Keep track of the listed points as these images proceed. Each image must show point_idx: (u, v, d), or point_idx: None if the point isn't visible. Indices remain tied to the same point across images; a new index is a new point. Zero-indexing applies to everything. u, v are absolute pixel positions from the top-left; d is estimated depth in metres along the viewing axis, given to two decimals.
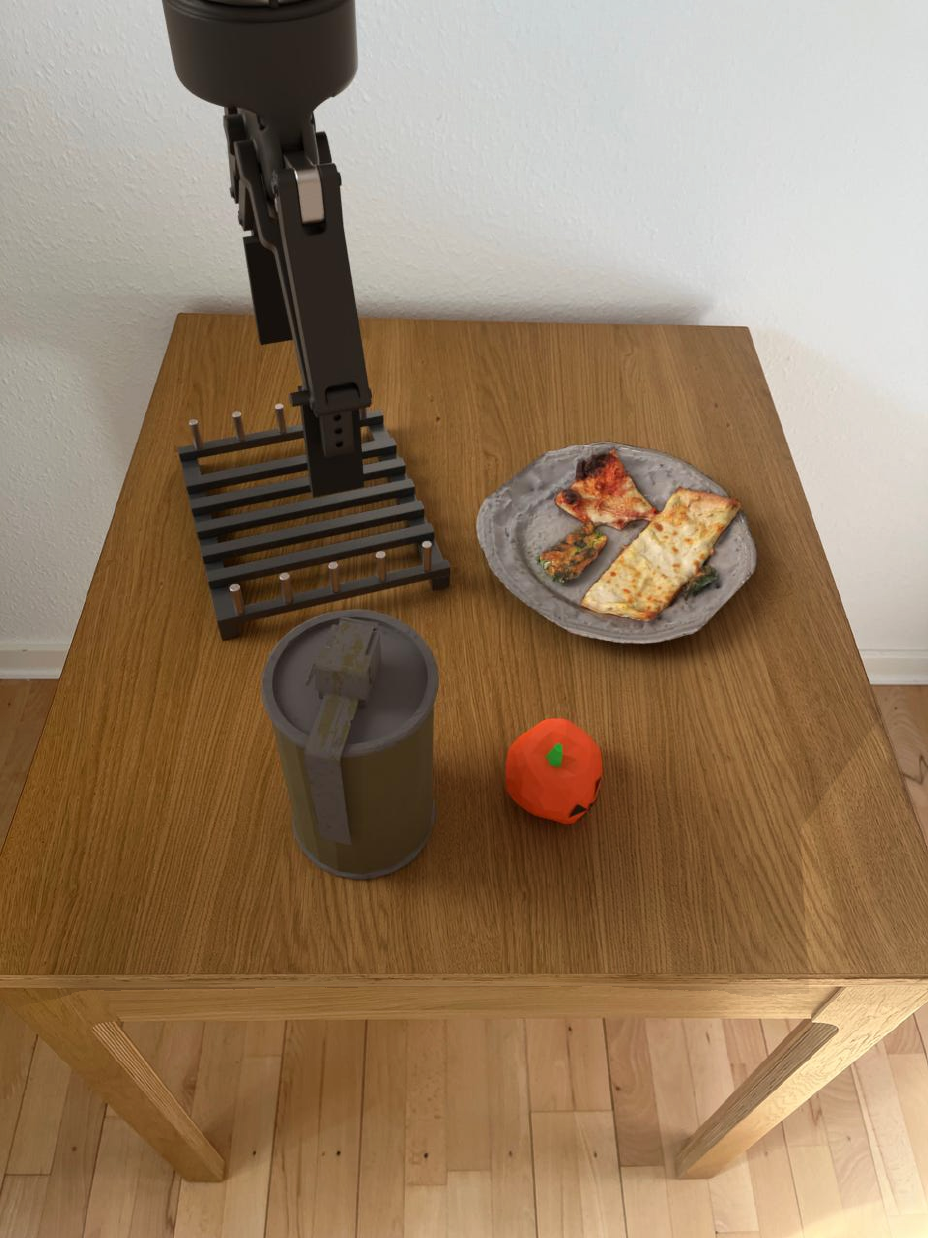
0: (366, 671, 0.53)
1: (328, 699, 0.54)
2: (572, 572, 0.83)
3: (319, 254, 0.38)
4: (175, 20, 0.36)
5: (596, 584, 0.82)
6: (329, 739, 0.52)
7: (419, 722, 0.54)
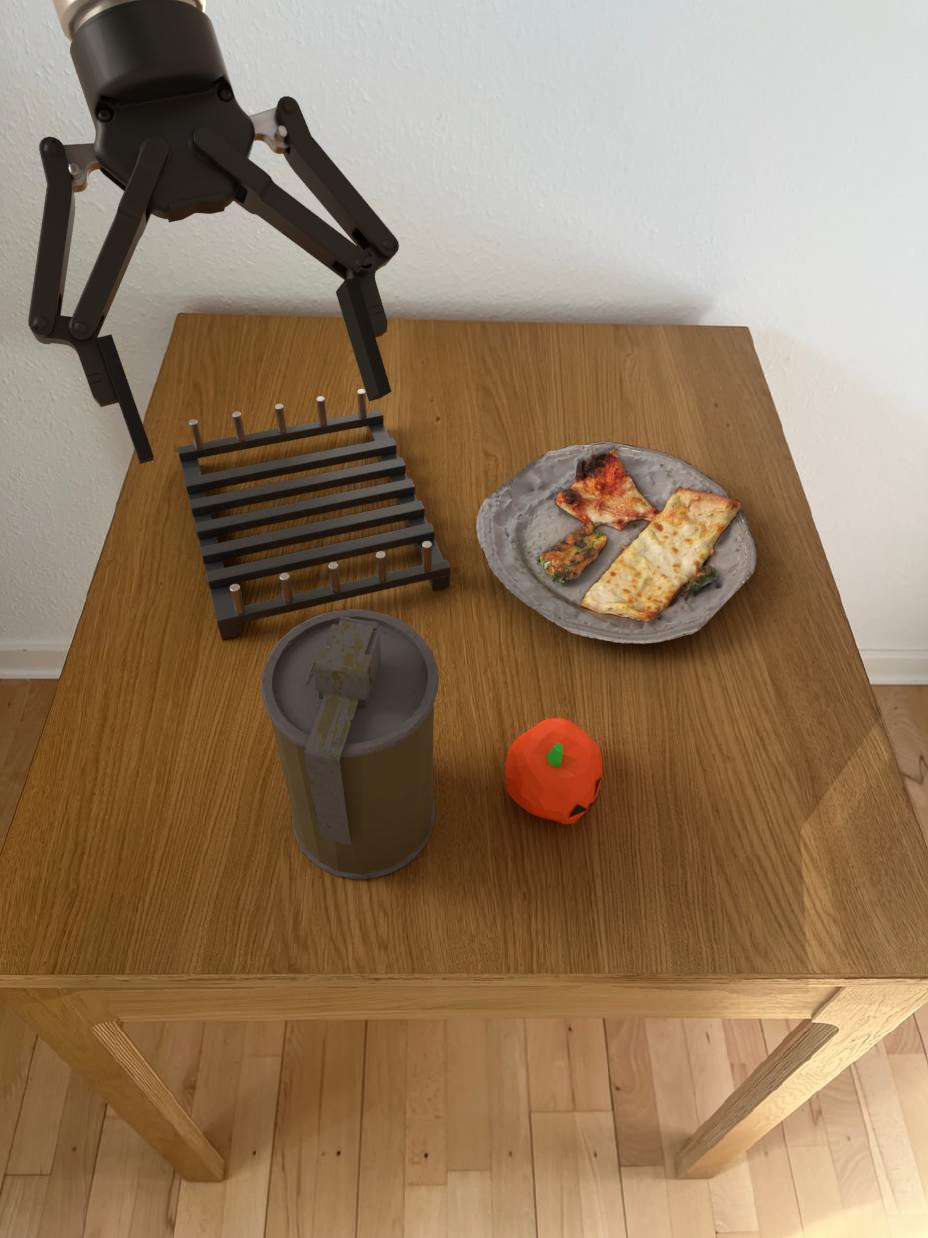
0: (366, 671, 0.53)
1: (328, 699, 0.54)
2: (572, 572, 0.83)
3: None
4: (173, 12, 0.46)
5: (596, 584, 0.82)
6: (329, 739, 0.52)
7: (419, 722, 0.54)
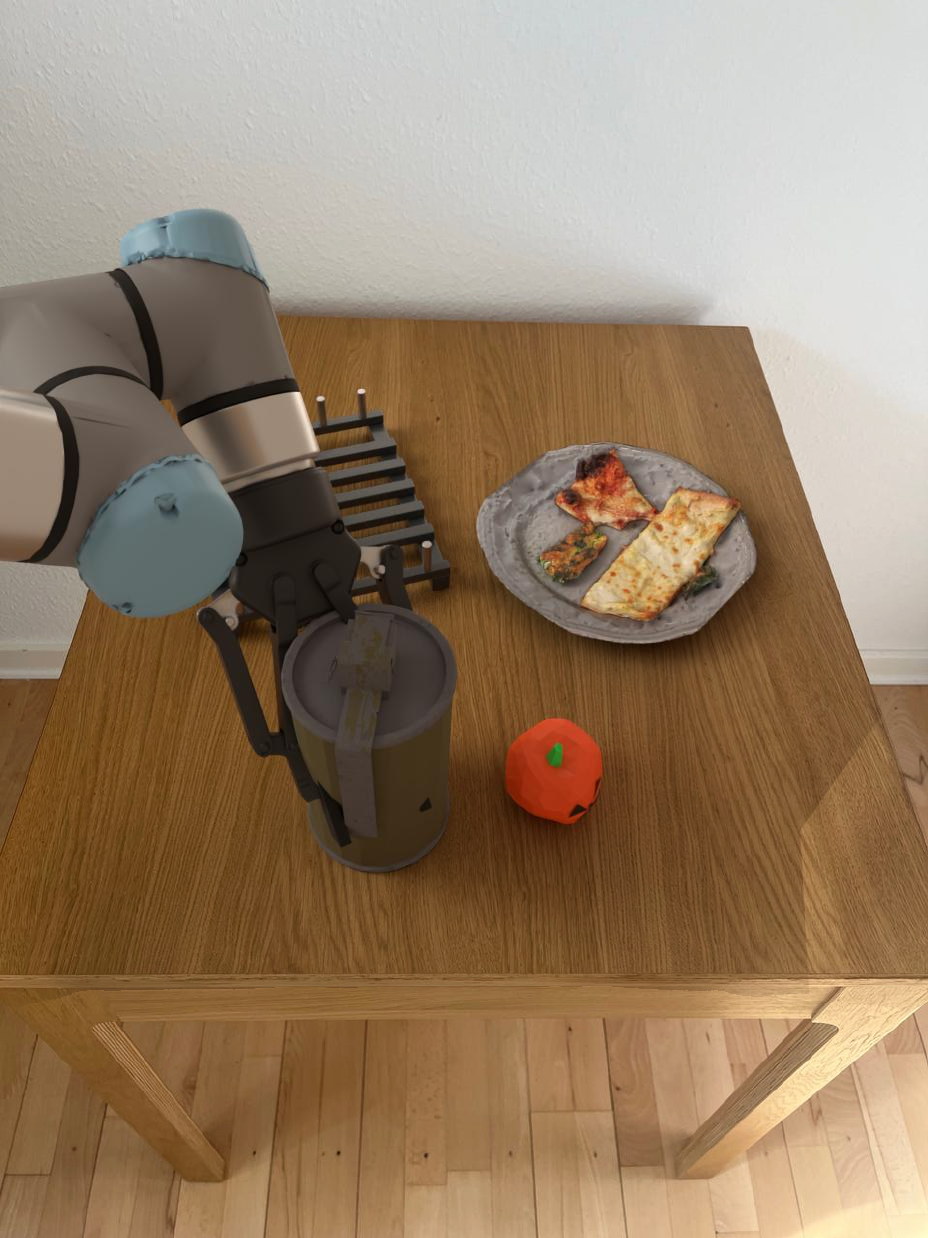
0: (389, 662, 0.53)
1: (351, 693, 0.54)
2: (572, 572, 0.83)
3: None
4: (302, 485, 0.55)
5: (596, 584, 0.82)
6: (358, 732, 0.53)
7: (443, 708, 0.54)
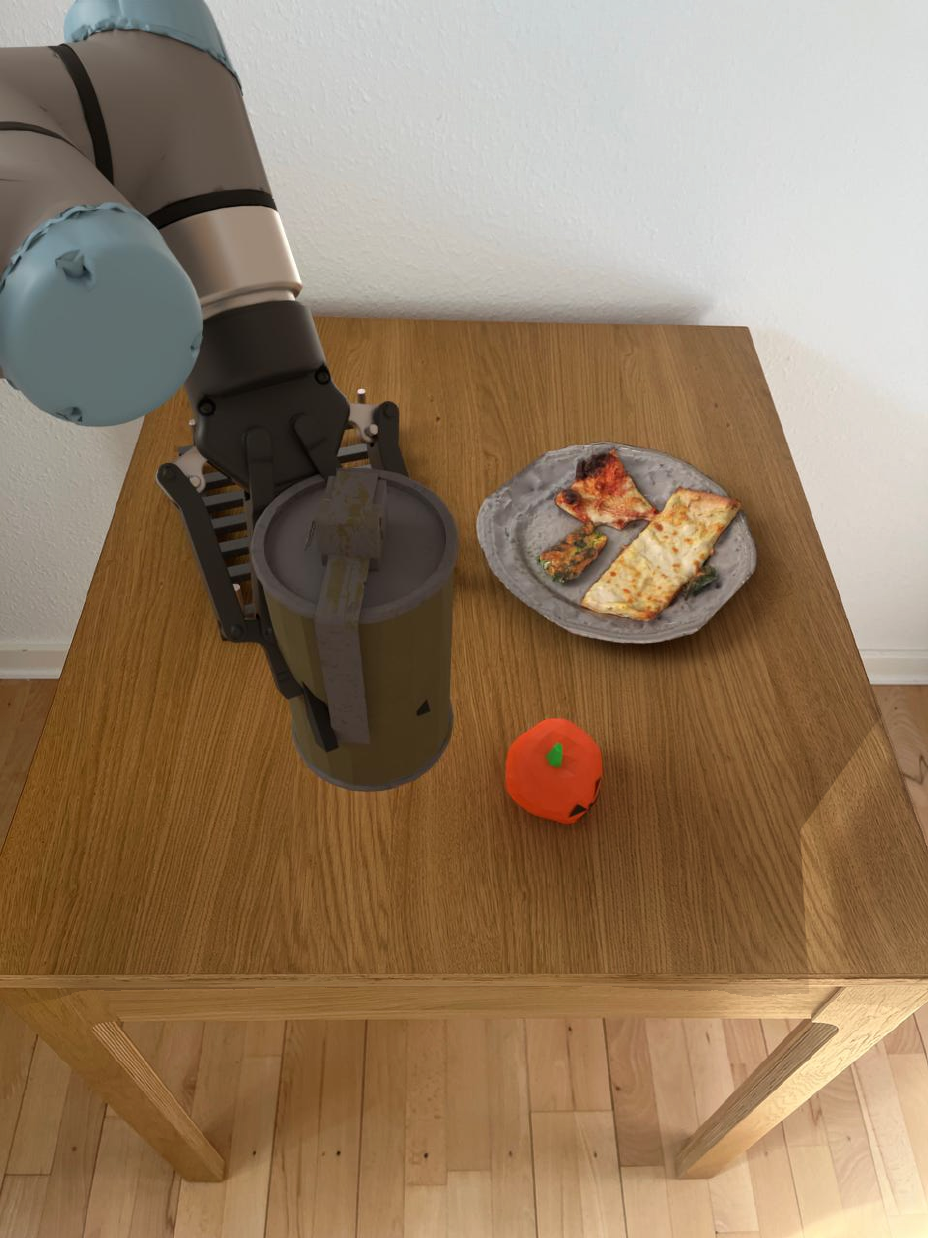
0: (377, 520, 0.44)
1: (334, 562, 0.46)
2: (572, 572, 0.83)
3: None
4: (279, 316, 0.47)
5: (596, 584, 0.82)
6: (342, 604, 0.44)
7: (443, 578, 0.46)
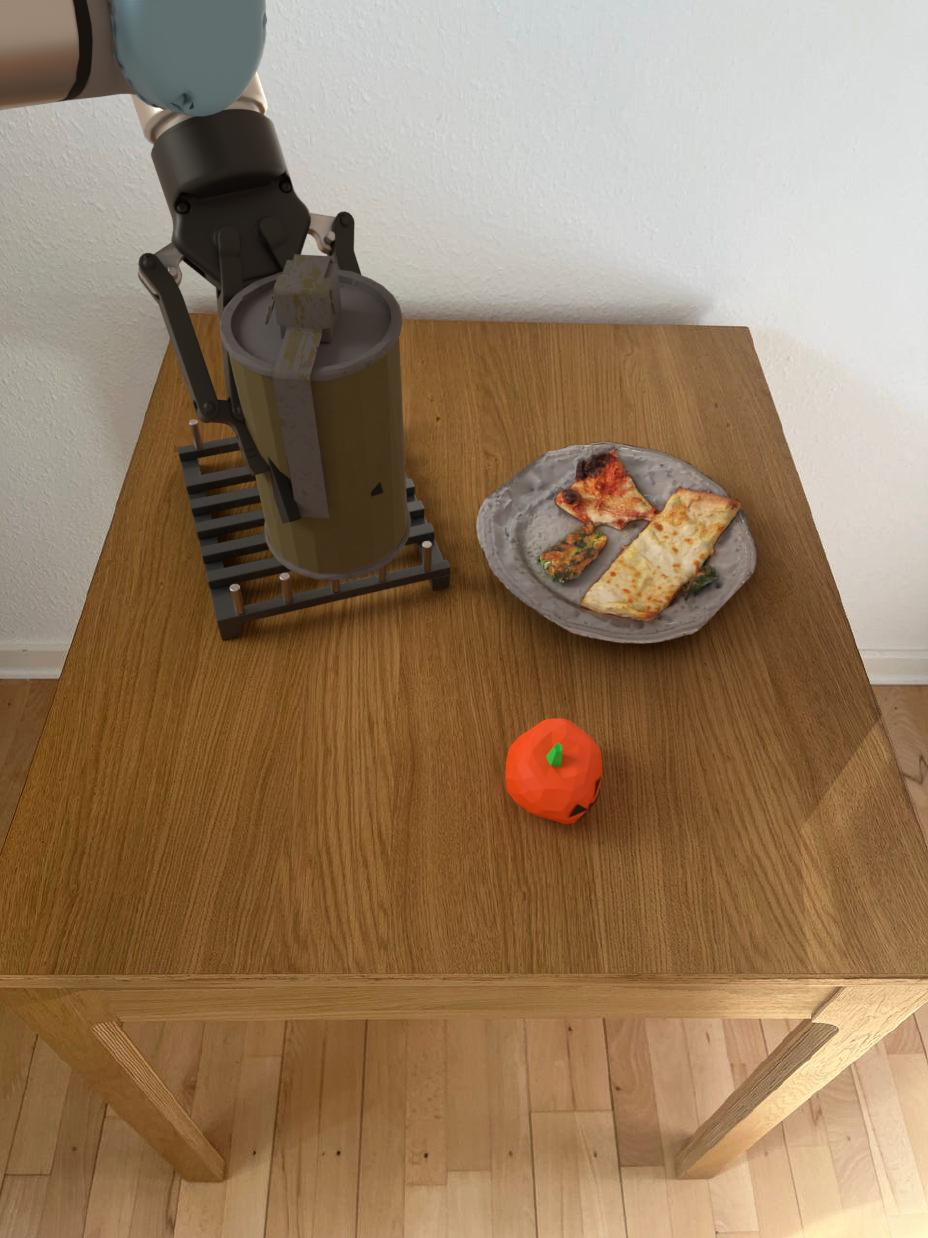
0: (327, 290, 0.51)
1: (291, 332, 0.52)
2: (572, 572, 0.83)
3: None
4: (245, 121, 0.53)
5: (596, 584, 0.82)
6: (296, 362, 0.51)
7: (387, 346, 0.52)
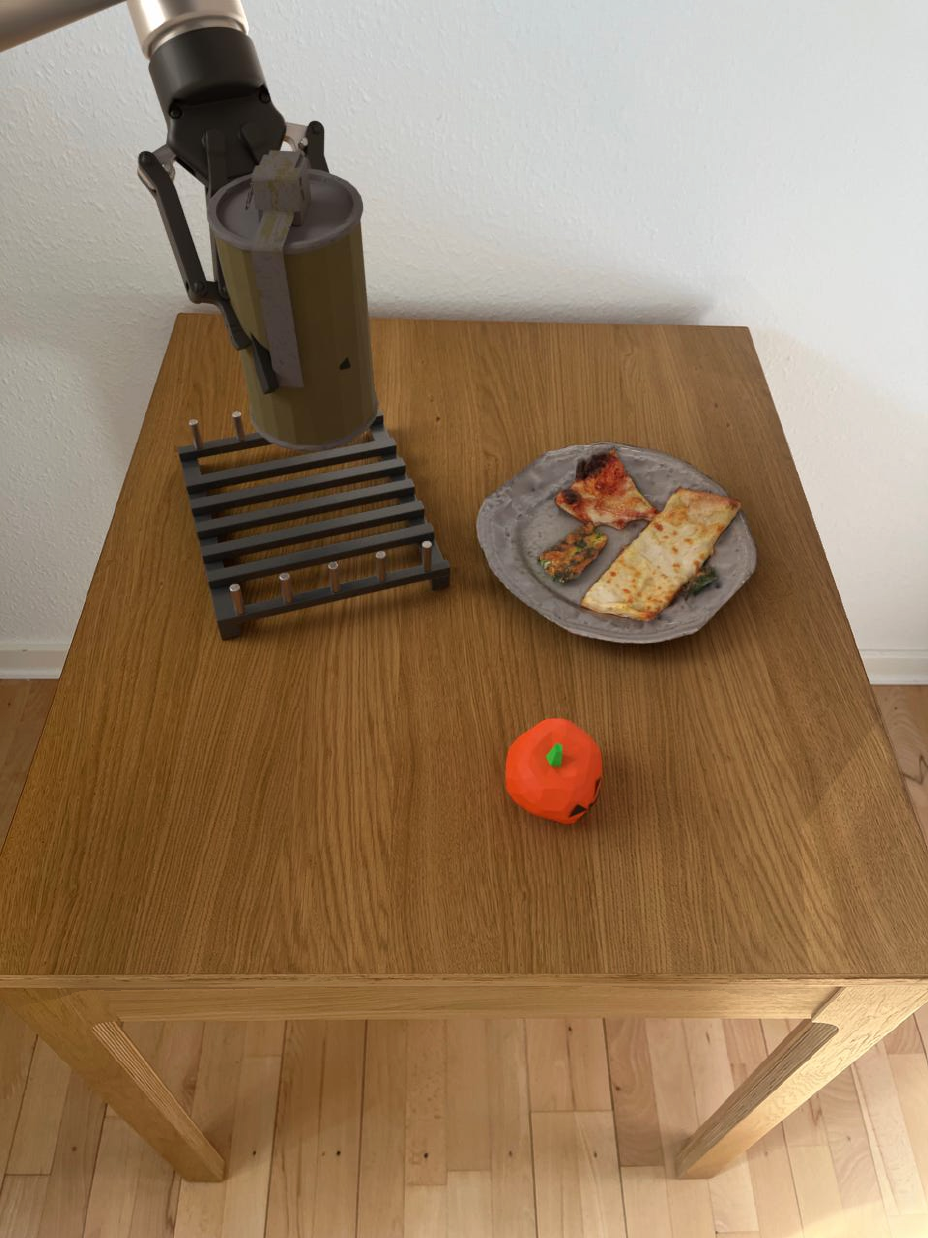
0: (297, 177, 0.60)
1: (267, 215, 0.62)
2: (572, 572, 0.83)
3: None
4: (228, 36, 0.62)
5: (596, 584, 0.82)
6: (271, 238, 0.60)
7: (349, 227, 0.62)
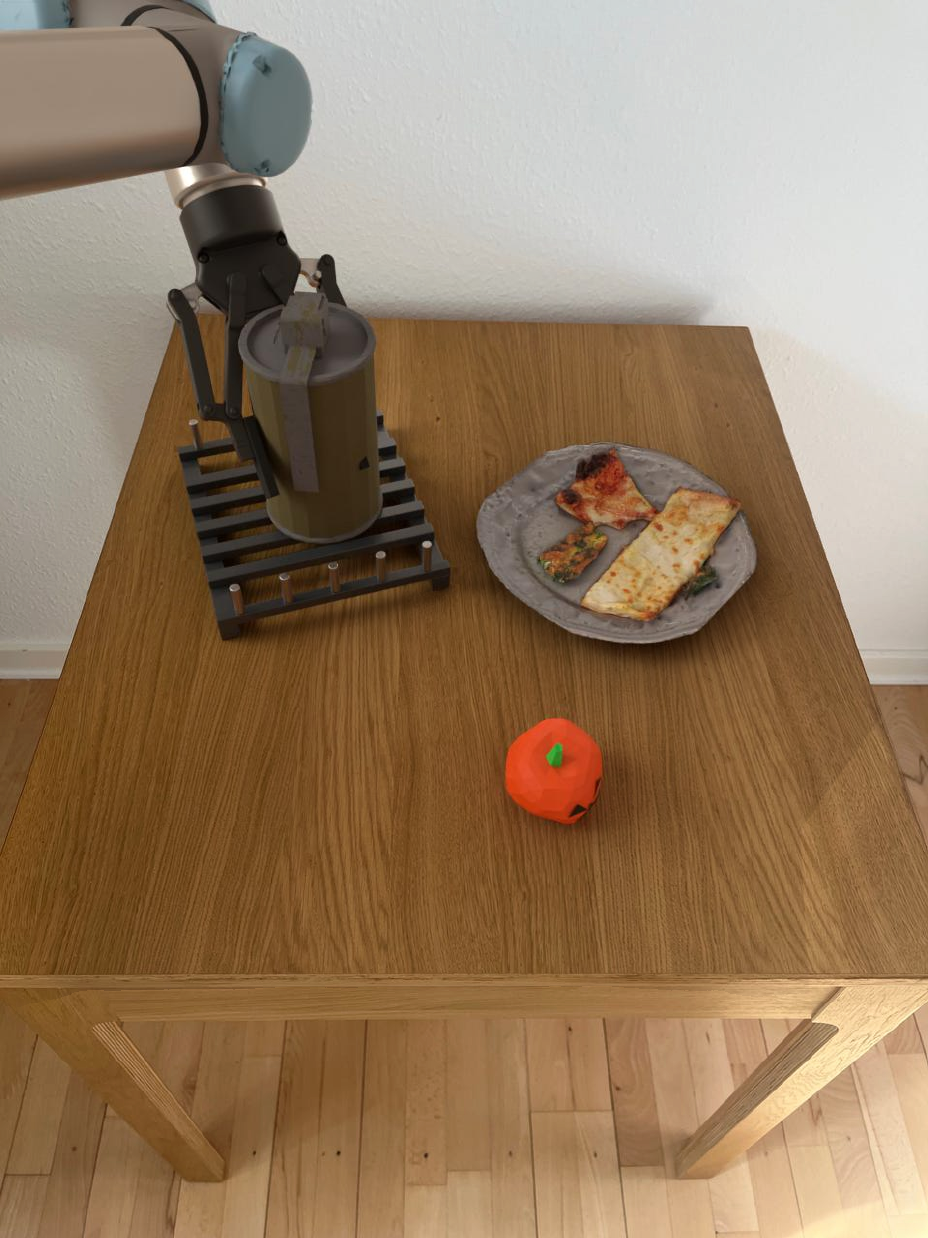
0: (320, 319, 0.69)
1: (292, 350, 0.70)
2: (572, 572, 0.83)
3: None
4: (251, 193, 0.71)
5: (596, 584, 0.82)
6: (297, 372, 0.68)
7: (364, 361, 0.70)
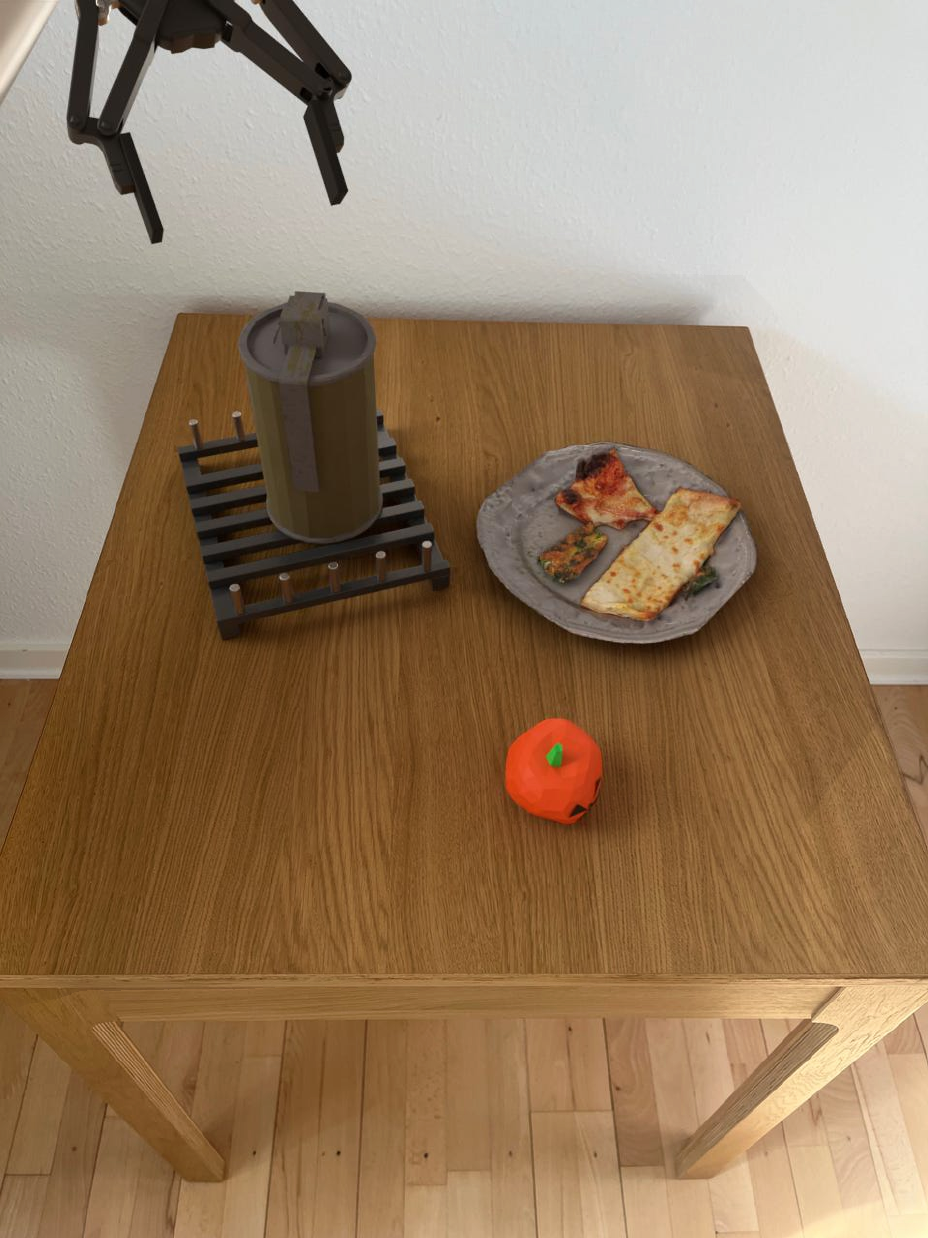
0: (320, 319, 0.69)
1: (292, 350, 0.70)
2: (572, 572, 0.83)
3: None
4: None
5: (596, 584, 0.82)
6: (297, 372, 0.68)
7: (364, 361, 0.70)
